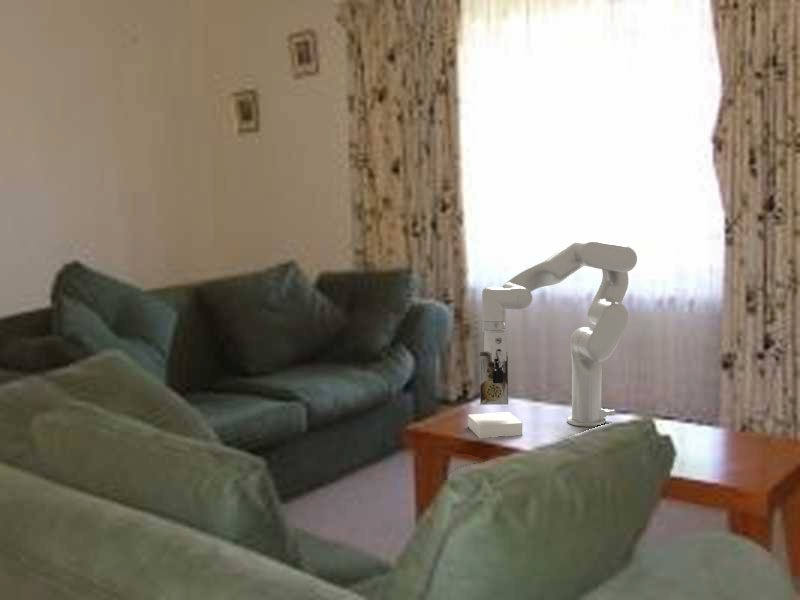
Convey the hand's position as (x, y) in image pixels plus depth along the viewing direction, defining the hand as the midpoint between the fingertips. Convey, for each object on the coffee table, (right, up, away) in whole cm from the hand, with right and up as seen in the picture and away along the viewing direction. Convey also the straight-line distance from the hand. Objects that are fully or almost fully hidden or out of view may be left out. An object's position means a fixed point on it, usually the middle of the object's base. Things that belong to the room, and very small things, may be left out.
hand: (494, 379), depth 308 cm
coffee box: (0, -8, +1) cm, 8 cm away
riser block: (0, -17, +2) cm, 17 cm away
